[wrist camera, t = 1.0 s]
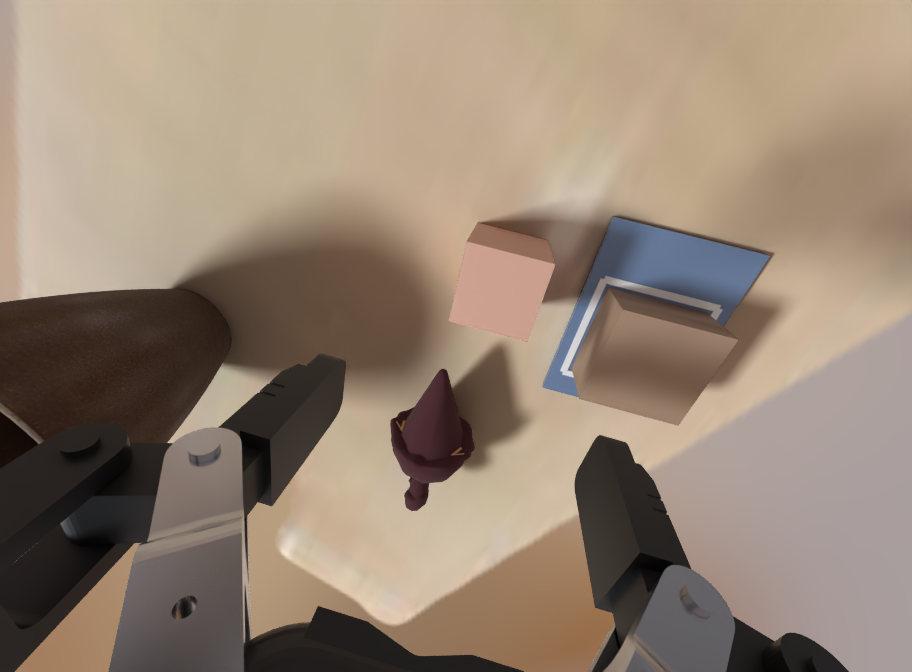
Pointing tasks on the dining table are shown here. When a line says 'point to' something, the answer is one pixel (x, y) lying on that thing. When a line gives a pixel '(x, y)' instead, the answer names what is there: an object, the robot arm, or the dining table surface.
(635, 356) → the walnut base
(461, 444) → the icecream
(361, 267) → the dining table surface
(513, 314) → the terracotta block
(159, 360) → the plant pot
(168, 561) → the robot arm
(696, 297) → the blueprint mat
